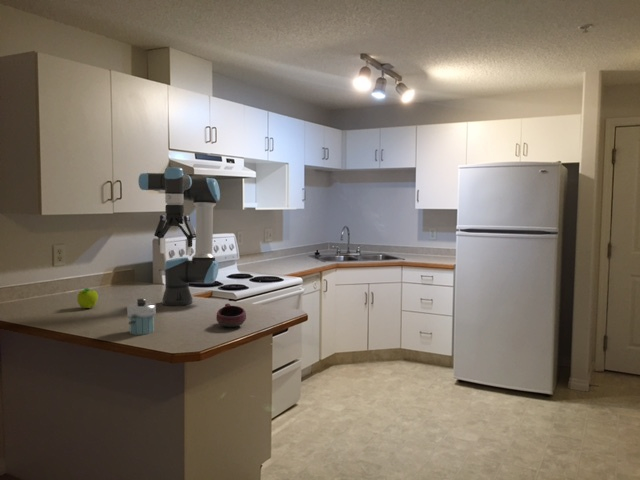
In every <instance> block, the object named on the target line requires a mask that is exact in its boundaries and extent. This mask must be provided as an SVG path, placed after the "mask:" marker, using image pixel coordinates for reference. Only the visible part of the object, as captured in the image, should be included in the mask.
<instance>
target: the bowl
mask: <svg viewBox="0 0 640 480" xmlns="http://www.w3.org/2000/svg"><path fill="white" fill-rule="evenodd" d="M215 319H216V321H217V323H218V324H219V325H220V326H223V327H225V328H236V327H239V326H241V325H243V324H244V323H245V322H246V320H247V312H246V310H245V309H244V308H243V307H241V306H237V305H231V304H230V303H225V305H224V306H223V307H221V308H219V309H218V310H217V312H216V318H215Z"/></svg>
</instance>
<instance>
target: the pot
mask: <svg viewBox="0 0 640 480" xmlns="http://www.w3.org/2000/svg"><path fill="white" fill-rule="evenodd" d="M128 318H129V320H128V325H129V334H131V335H135V336H139V335H150V334H152V333H154V332H155V315H154V316H151V317H145V318H131V317H128Z"/></svg>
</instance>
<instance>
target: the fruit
mask: <svg viewBox="0 0 640 480" xmlns="http://www.w3.org/2000/svg"><path fill="white" fill-rule="evenodd" d="M98 299H99V294H98V293H97V291H96V290H91V289H90V288H89V287H88V288H87V287H86V288H83V289H82V290H80V291H79V292H78V295H77V299H76V300H77V304H78V305H79V306H80V307H81V308H82V309H85V308H89V309H93V308H94V307H95V306H96V304H97V302H98Z"/></svg>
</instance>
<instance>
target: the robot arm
mask: <svg viewBox="0 0 640 480" xmlns="http://www.w3.org/2000/svg"><path fill="white" fill-rule="evenodd" d="M138 187H139V188H140V190H142V191H154V192H159V193H163V194H164V197H165V198H164V199H165V200H164V202H165V209H164V210H165V214H166V215H165V214H164V215H163V214H162V215H159V221H158V223H157V226H156V229H155V231H154V235H153V236H154V237H157V239H158V246H159V254H165V253H166V237H165V235H166V234H167V233H168V232H169V229H170V228H171V227H178V228H179V229H180V230H181V232H182V233H183V235H184V237H185V238H186V239H185V255H186V256H185V257H178V258H172V259H167V260H166V261H165V263H164V283H165V289H164V292H163V297H162V299H161V304H162V305H164V306H170V307H177V306H179V307H180V306H187V305H191V304H193V297H192V293H191V290H190V286H189V285H190V284H206V285H207V284H213V283H215V282H216V280H217V277H218V275H219V269H220V268H219V267H220V266H219V265H220V264H219V261H218V260H216V256H215V255H214V254H213V241H214V240H213V237H214V235H213V234H214V233H213V231H214V228H213V227H214V207H216V205H217V202H219V201H220V199H221V192H220V190H221V189H220V186H219V184H218V181H217V179H215V178H212V177H191V176H190V175H189V174H187V173H185V172H184V169H183V168H182V167H166V168H165V169H164V172H162V173H161V172H157V173H156V172H144V173H140V174H139V176H138ZM184 201H193V202H192V204H193V206H195V229H194V226H193V224H192V221H191V218H190V217H191V216H190V215H184V212H185V211H184V210H185V207H184V206H185V205H184V203H185V202H184ZM193 239H195V245H194V246H195V248H194V250H195V251H194V255H193V256H191V260H189V258H188V257H187V256H188V255H189V256H190V255H192V247H193Z"/></svg>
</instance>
